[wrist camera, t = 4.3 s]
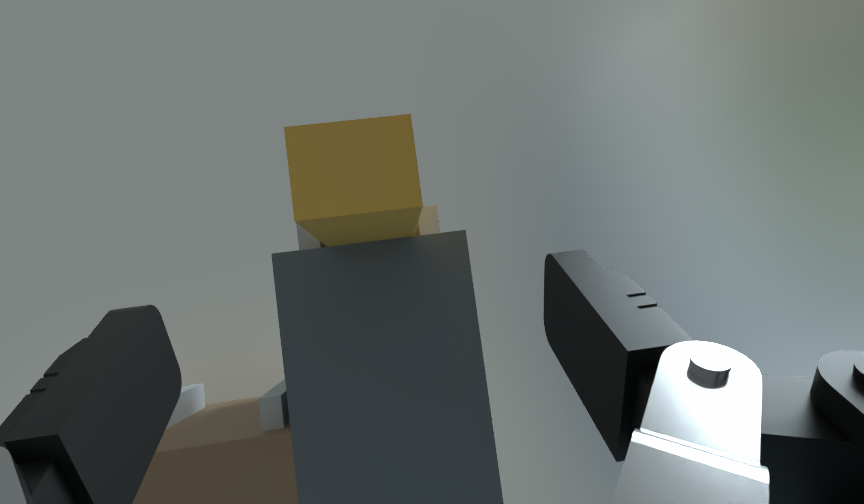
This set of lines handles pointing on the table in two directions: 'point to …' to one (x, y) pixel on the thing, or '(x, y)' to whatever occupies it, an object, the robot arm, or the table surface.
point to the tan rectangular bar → (355, 179)
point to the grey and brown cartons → (350, 388)
